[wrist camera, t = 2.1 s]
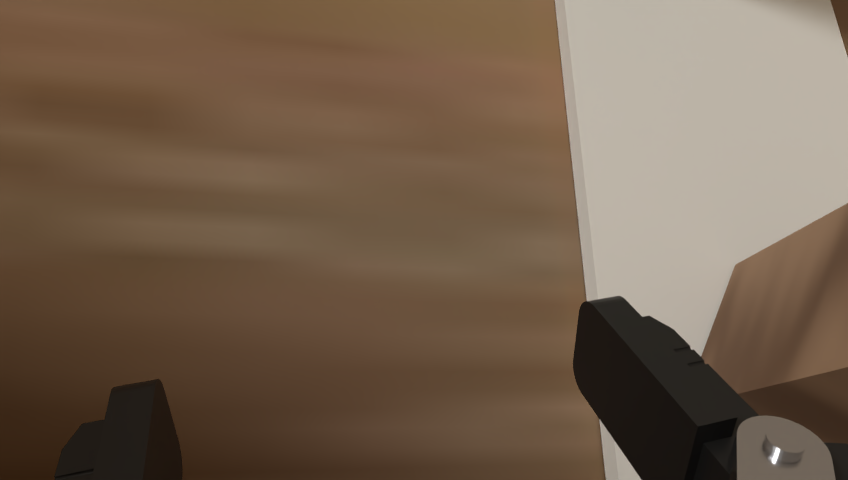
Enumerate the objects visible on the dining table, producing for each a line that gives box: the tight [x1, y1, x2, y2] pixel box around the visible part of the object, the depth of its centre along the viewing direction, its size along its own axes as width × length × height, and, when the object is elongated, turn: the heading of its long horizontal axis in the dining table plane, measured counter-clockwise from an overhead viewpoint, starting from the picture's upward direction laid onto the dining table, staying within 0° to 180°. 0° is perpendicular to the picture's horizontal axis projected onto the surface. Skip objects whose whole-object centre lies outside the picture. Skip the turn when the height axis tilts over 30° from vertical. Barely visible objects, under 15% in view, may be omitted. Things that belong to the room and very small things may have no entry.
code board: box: [555, 0, 848, 480], centre depth 22 cm, size 11×24×1 cm, turn 1°
